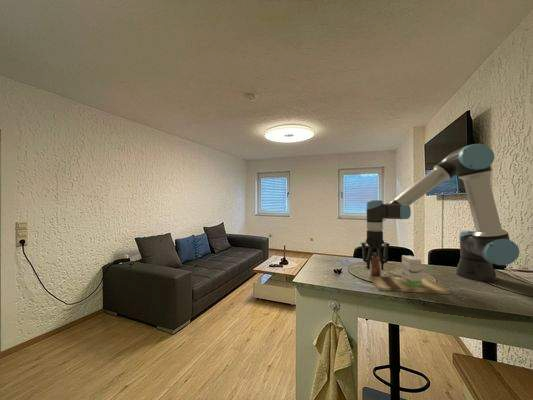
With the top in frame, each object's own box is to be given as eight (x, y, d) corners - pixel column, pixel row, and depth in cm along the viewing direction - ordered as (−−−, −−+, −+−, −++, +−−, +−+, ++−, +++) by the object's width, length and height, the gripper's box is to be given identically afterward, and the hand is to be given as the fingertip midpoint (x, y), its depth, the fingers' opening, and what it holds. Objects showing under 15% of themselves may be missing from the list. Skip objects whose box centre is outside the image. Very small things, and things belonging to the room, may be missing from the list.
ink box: (422, 287, 98) (422, 260, 98) (409, 286, 99) (409, 259, 99) (412, 280, 106) (412, 255, 106) (401, 279, 107) (401, 255, 107)
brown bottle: (377, 275, 117) (377, 252, 117) (380, 277, 113) (380, 253, 114) (369, 274, 118) (369, 251, 118) (372, 277, 114) (372, 253, 114)
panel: (431, 281, 108) (431, 278, 108) (450, 293, 94) (450, 290, 94) (369, 278, 112) (369, 275, 112) (378, 290, 98) (378, 287, 98)
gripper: (389, 229, 118) (389, 274, 118) (355, 229, 121) (355, 272, 121) (395, 231, 111) (395, 279, 111) (359, 230, 114) (359, 277, 113)
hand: (374, 275), depth 116 cm, fingers closed on brown bottle, 4 cm apart
